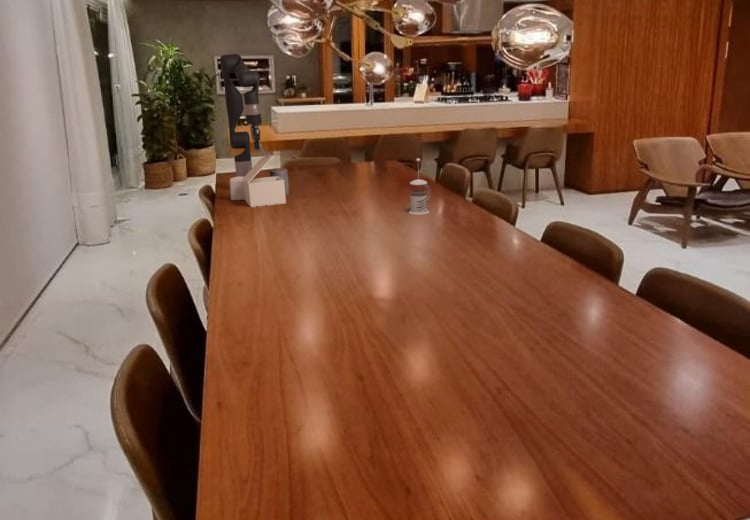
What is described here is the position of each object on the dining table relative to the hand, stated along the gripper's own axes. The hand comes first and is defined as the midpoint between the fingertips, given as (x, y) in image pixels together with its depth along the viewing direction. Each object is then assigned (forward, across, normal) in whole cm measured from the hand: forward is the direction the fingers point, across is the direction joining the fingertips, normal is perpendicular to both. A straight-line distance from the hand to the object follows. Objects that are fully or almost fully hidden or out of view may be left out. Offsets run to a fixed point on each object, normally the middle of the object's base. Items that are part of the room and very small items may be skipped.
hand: (257, 148), depth 320 cm
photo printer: (+28, -16, -9) cm, 33 cm away
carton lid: (+10, 0, 0) cm, 10 cm away
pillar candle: (+29, -18, +13) cm, 36 cm away
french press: (+30, +60, +61) cm, 91 cm away
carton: (+28, 0, +1) cm, 28 cm away
